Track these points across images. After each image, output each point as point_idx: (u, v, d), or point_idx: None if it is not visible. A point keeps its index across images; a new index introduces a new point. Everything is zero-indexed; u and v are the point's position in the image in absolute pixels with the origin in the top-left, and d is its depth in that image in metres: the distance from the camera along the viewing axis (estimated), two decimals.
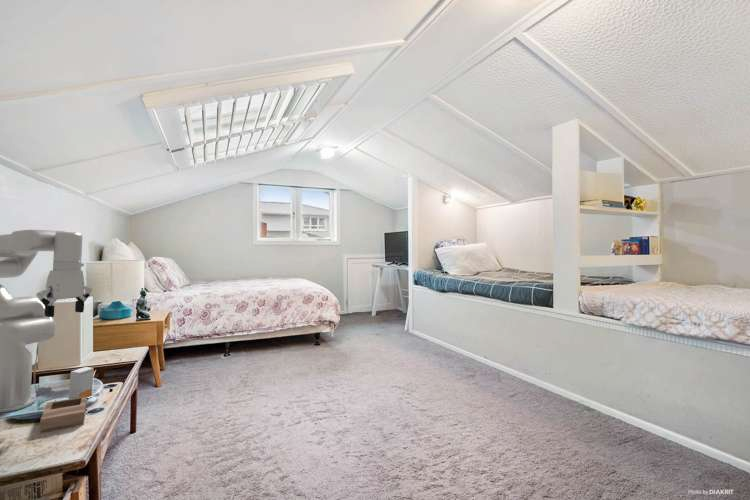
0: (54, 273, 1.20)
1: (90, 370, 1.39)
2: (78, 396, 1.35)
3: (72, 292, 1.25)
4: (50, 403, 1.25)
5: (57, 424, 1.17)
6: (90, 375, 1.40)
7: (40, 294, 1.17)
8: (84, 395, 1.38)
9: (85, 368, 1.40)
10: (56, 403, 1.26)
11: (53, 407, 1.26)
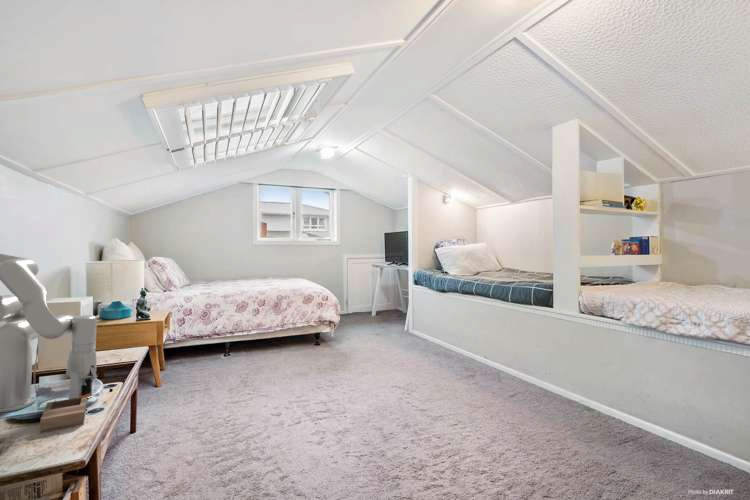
0: (93, 353, 1.38)
1: None
2: (78, 396, 1.35)
3: None
4: (50, 403, 1.25)
5: (57, 424, 1.17)
6: None
7: None
8: (84, 395, 1.38)
9: None
10: (56, 403, 1.26)
11: (53, 407, 1.26)
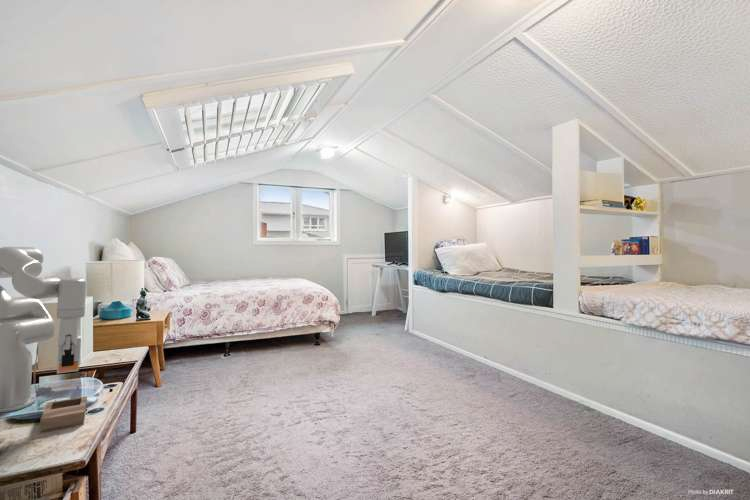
0: (72, 320, 1.22)
1: None
2: (58, 366, 1.22)
3: None
4: (50, 403, 1.25)
5: (57, 424, 1.17)
6: (75, 345, 1.25)
7: (69, 347, 1.20)
8: (67, 366, 1.24)
9: None
10: (56, 403, 1.26)
11: (53, 407, 1.26)
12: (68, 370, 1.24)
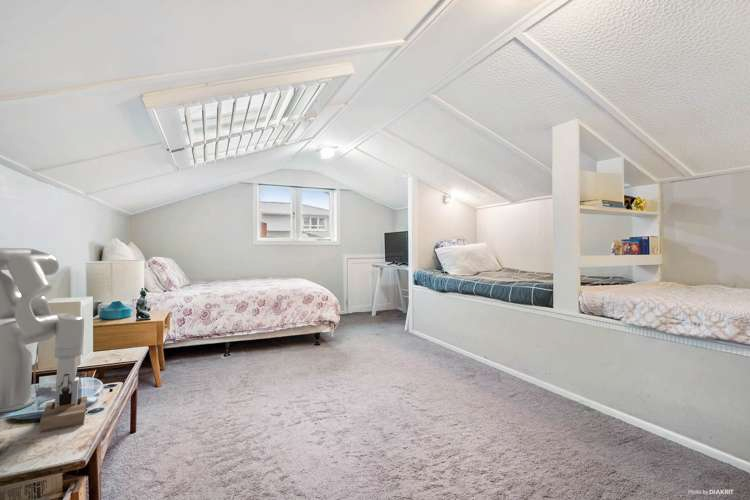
0: (69, 360, 1.22)
1: None
2: None
3: None
4: (50, 403, 1.25)
5: (57, 424, 1.17)
6: (73, 388, 1.25)
7: (67, 385, 1.19)
8: None
9: None
10: None
11: (53, 407, 1.26)
12: None
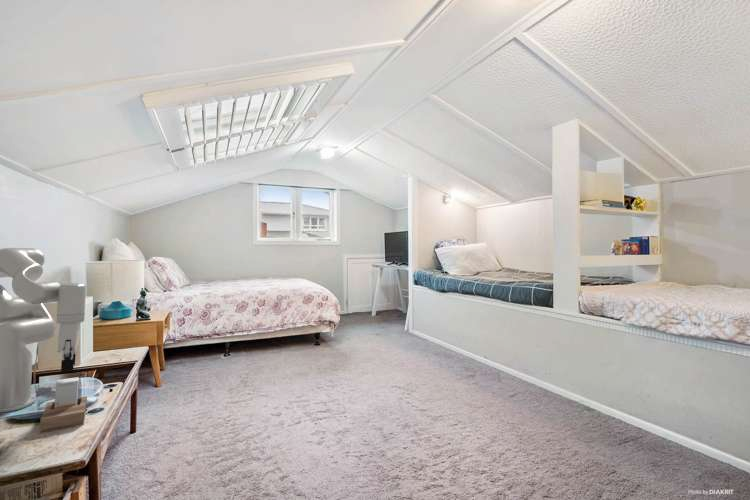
0: (71, 325, 1.22)
1: (72, 383, 1.25)
2: None
3: (77, 342, 1.27)
4: (50, 403, 1.25)
5: (57, 424, 1.17)
6: (72, 388, 1.25)
7: (69, 352, 1.20)
8: None
9: (72, 379, 1.26)
10: None
11: (53, 407, 1.26)
12: None
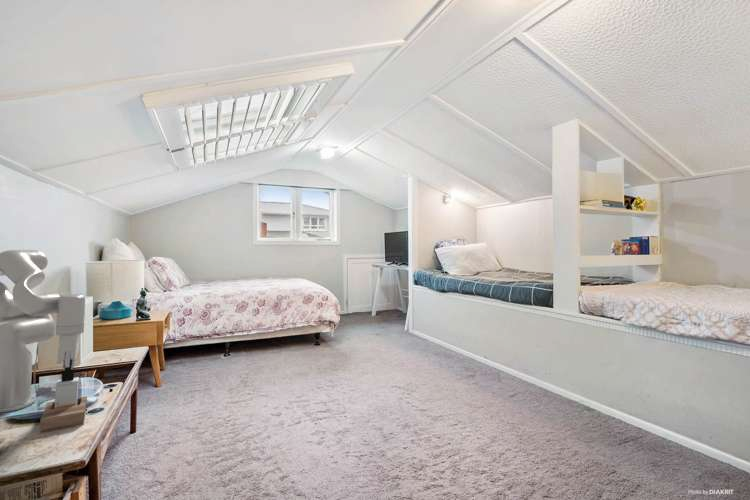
0: (71, 337, 1.22)
1: (72, 383, 1.25)
2: None
3: None
4: (50, 403, 1.25)
5: (57, 424, 1.17)
6: (72, 388, 1.25)
7: (69, 365, 1.22)
8: None
9: None
10: None
11: (53, 407, 1.26)
12: None
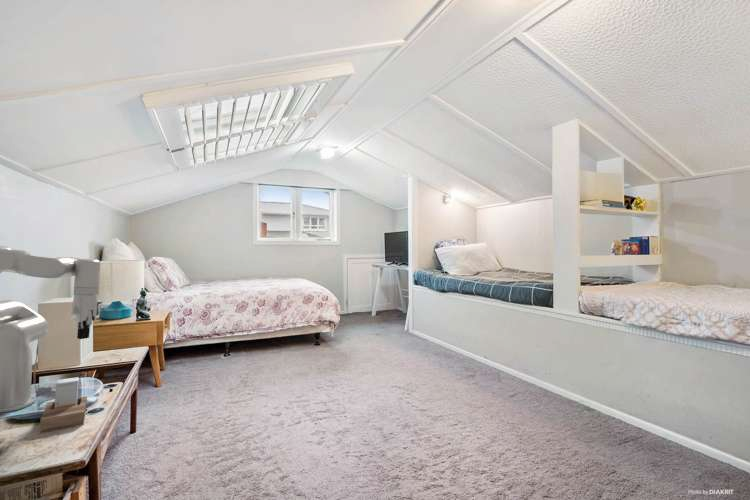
0: (93, 297, 1.34)
1: (72, 383, 1.25)
2: None
3: None
4: (50, 403, 1.25)
5: (57, 424, 1.17)
6: (72, 388, 1.25)
7: None
8: None
9: (72, 379, 1.26)
10: None
11: (53, 407, 1.26)
12: None
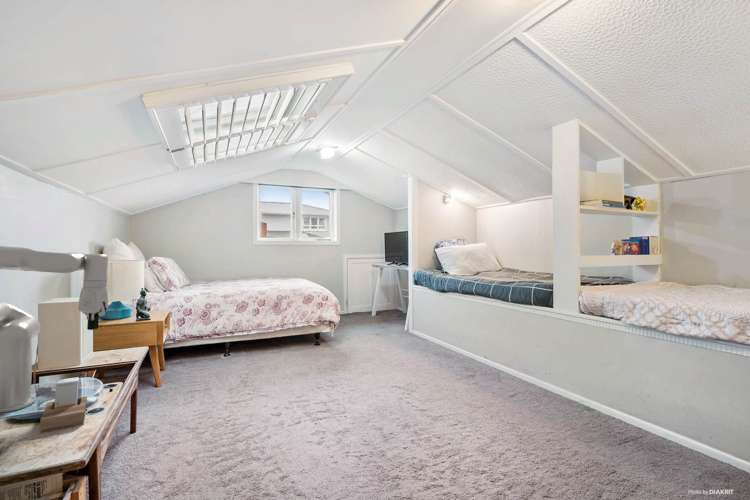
0: (104, 289, 1.42)
1: (72, 383, 1.25)
2: None
3: None
4: (50, 403, 1.25)
5: (57, 424, 1.17)
6: (72, 388, 1.25)
7: None
8: None
9: (72, 379, 1.26)
10: None
11: (53, 407, 1.26)
12: None
